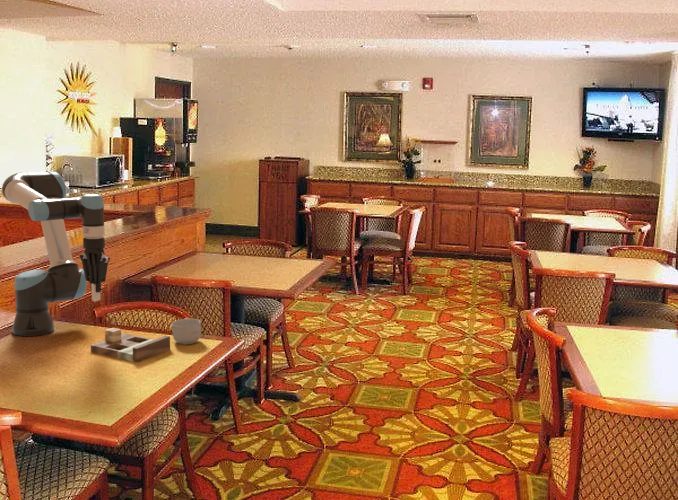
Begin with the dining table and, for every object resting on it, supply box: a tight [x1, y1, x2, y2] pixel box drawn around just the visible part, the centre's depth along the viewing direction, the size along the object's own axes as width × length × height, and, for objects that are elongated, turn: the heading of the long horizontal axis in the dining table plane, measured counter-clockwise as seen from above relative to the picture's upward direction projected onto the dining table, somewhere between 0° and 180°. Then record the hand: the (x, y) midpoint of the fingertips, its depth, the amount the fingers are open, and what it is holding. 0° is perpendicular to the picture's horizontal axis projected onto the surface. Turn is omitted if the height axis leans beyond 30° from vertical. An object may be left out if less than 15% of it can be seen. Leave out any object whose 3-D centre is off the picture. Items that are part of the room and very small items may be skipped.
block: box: [104, 327, 122, 342], centre depth 276 cm, size 4×4×4 cm
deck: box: [90, 333, 171, 363], centre depth 272 cm, size 22×17×5 cm
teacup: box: [171, 317, 202, 346], centre depth 285 cm, size 14×11×8 cm
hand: (96, 300), depth 277 cm, fingers closed
